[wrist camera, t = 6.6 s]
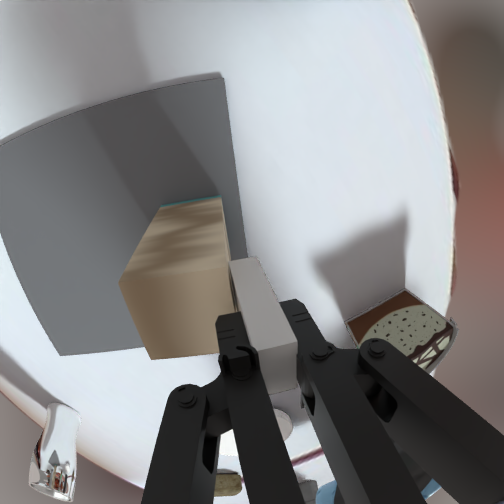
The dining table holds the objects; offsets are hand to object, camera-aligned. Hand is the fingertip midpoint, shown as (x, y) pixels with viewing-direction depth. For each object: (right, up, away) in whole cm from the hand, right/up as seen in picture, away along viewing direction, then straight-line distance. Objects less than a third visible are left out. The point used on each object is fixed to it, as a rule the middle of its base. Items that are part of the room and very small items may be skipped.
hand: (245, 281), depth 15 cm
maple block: (-4, +4, +8) cm, 10 cm away
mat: (-12, +2, +8) cm, 15 cm away
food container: (+17, -7, +19) cm, 27 cm away
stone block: (-8, -48, +33) cm, 59 cm away
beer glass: (-29, -24, +17) cm, 41 cm away
